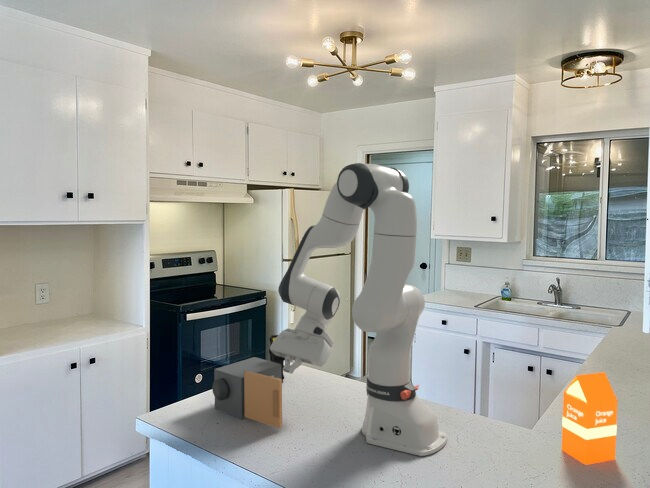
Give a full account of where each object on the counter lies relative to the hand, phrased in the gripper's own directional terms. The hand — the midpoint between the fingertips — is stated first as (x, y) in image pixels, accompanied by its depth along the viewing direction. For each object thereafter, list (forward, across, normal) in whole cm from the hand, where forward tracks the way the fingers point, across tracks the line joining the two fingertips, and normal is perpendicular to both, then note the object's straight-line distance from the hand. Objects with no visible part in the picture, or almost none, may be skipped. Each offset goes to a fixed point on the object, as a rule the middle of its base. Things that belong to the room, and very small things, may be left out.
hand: (287, 371), depth 146 cm
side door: (+16, +2, -1) cm, 16 cm away
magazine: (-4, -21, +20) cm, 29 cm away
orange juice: (-10, +75, +26) cm, 80 cm away
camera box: (+12, -11, +4) cm, 17 cm away
